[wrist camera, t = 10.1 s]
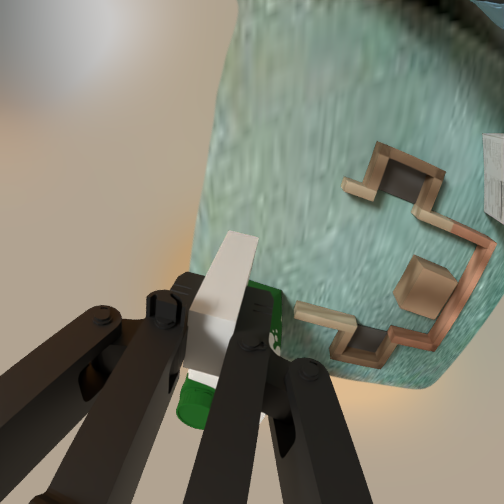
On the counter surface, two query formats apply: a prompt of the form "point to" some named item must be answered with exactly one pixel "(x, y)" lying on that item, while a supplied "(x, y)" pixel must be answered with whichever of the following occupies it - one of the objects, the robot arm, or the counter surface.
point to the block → (424, 287)
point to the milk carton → (203, 385)
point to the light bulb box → (494, 175)
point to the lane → (454, 303)
